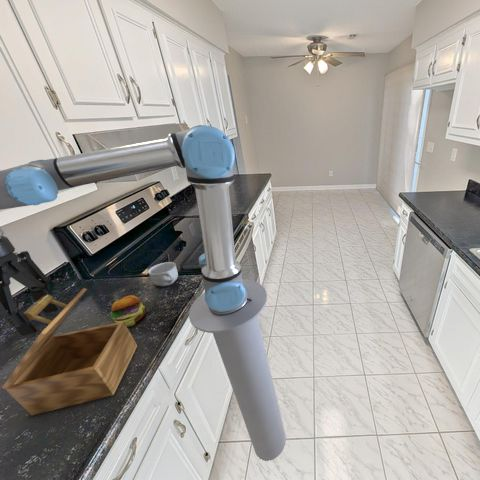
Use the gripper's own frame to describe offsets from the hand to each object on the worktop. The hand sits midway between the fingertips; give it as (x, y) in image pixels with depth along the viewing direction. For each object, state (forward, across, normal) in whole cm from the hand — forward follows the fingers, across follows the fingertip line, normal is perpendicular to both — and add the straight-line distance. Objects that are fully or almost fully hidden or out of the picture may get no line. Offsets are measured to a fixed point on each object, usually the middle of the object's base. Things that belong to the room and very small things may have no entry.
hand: (41, 321), depth 64 cm
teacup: (+23, -44, +12) cm, 51 cm away
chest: (+22, 0, +2) cm, 23 cm away
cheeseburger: (+23, -24, +4) cm, 33 cm away
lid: (+5, 0, 0) cm, 5 cm away
